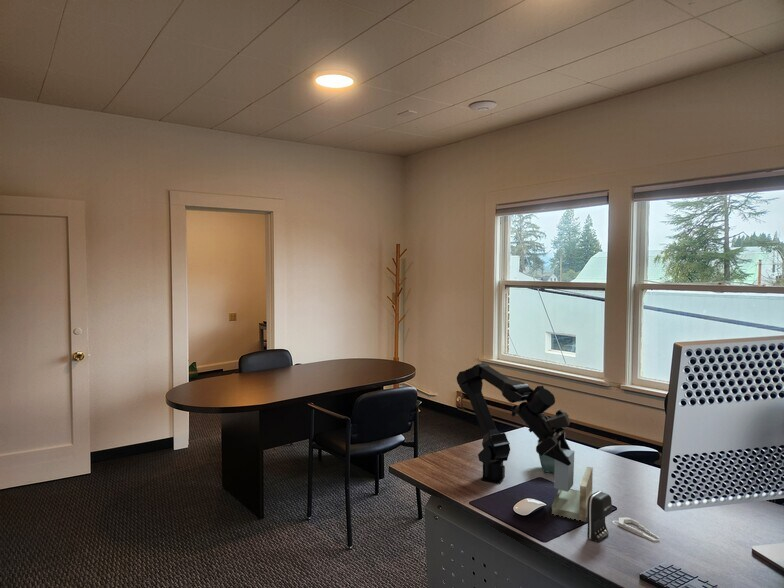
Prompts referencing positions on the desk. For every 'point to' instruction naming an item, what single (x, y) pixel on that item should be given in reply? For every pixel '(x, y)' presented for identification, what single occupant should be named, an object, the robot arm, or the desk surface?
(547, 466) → the flower pot
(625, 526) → the white looped flat piece
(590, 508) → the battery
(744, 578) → the desk surface
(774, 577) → the desk surface
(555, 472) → the cabinet block
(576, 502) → the cream open holder
